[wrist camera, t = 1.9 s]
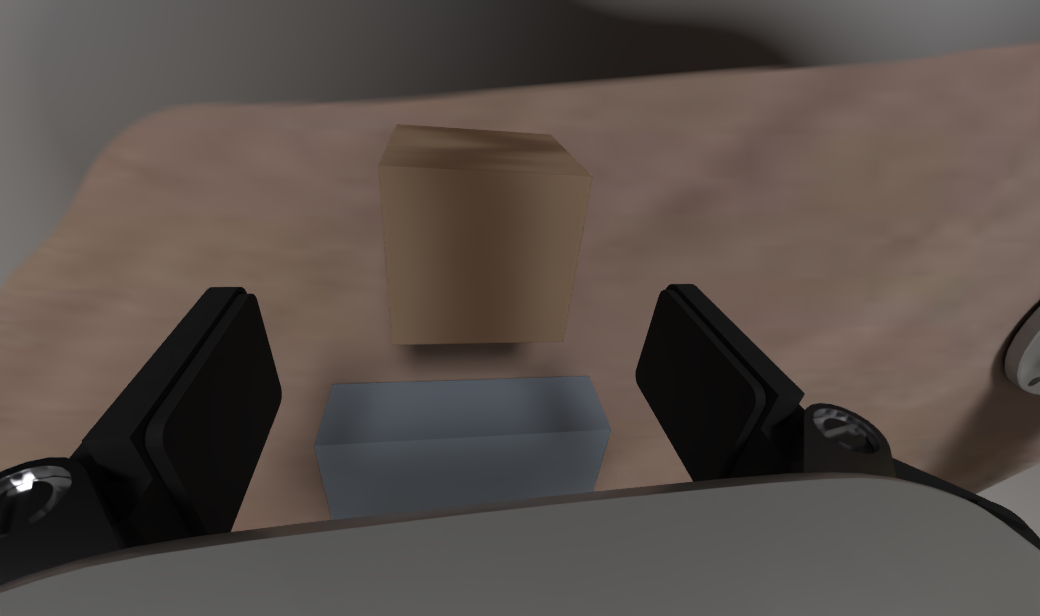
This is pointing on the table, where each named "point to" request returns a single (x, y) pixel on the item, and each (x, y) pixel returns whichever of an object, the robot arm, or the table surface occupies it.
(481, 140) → the walnut cube
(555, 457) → the pedestal
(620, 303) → the table surface
